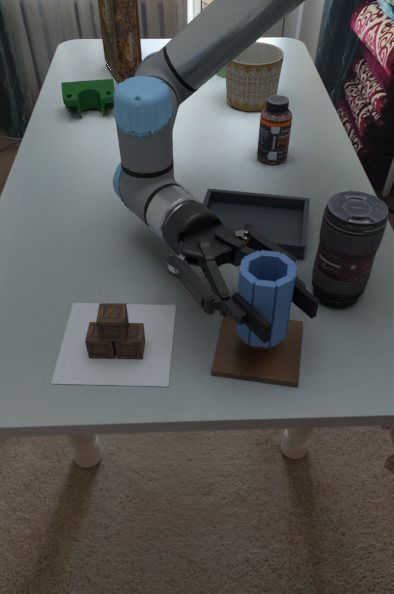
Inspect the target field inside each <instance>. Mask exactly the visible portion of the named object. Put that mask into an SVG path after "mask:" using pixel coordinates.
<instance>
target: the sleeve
mask: <svg viewBox="0 0 394 594" xmlns="http://www.w3.org/2000/svg"><path fill="white" fill-rule="evenodd" d="M297 268H298V266H297V262H296V263H295V262H294V261H292V260H291V259H290V258H289V257H287V256H286V255H285V254H283V253H282V254H280V252H274V251H264V250H261V252H260V251H256V252H254V253H252V254H250V255H247V256H245V257H243V259H242V260H241V265H240V266H239V270H238V283H237V292H238V293H239V294H240V295H241V296H242V297H243V298H244V299H245V300H246V301H247V302H248V303H250V304H251V305H252V306H253V307H254V308H255V309H256V310H257V311H258V312H259V313H260V314H261V315H262V316H263V317H264V318H266V319H267V320H268V321H269V322H270V323H271V324H272V325H271V333H270V341H268V342H266V343H263V342H262V341H261V340H260V339H259V338H258V337H257V336H256V335H255V334H254V333H253V332H252V331H251V330H250V329H249V328H248V327H247V326H246V325H245V324H242V325H239V324H237V323H236V334H237V335H238V336H239V337H240V338H241V339H242V340H243V341H244V342H245V343H246V344H249V343H250V346H257V347H264V348H268V345H269V346H270V347H272V346H274V345H276V344H278V343H279V342H281V341H283V340H284V339H285V338H286V334H287V328H288V322H289V319H290V314H291V309H292V296H293V290H294V283H295V277H296V276H297Z"/></svg>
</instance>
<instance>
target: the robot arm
mask: <svg viewBox="0 0 394 594" xmlns="http://www.w3.org/2000/svg"><path fill="white" fill-rule="evenodd" d="M305 1H306V0H212V1H211V2H209V4H207V5H206V6H205V7H204V8H203V10H201V11H200V12H199V13H198V14H197V15H196V16H195V17H194V18H193V19H192V20H191V21H189V22H188V23H187V24H186V25H185V26H184V27H183V28H182V29H181V30H180V31H178V32H177V33H176V34H175V36H173V37H172V38H171V39H169V41H168V42H167V43H166V44H165V45H164V46H163V47H161V48H160V49H159V50H158V51H153V52H150V53H149V54H147V55H146V56H145V57H144V58H142V62H141V64H140V65H139V66H138V67H137V70H136V72H135V75H134V77H131V78H128V79H125V80H124V82H121V83H119V84H118V83H117V84H116V86H115V90H114V107H113V111H112V112H113V118H114V122H115V126H116V134H117V142H118V149H119V156H120V157H119V158H120V163H118V165H117V166H116V168H115V172H114V175H113V178H112V187H113V190H114V192H115V194H116V195H117V197H118V198H119V199H120V201H121V202H122V203H123V205H124V206H125V208H127V209H128V210H129V211H131V212H132V213H133V214H134V215H135V216H136V217H137V218H138V219H139V220H140V221H141V222H142V223H144V225H146V227H148V228H149V229H150V230H151V231H152V232H153V233H154V234H155V235H156V236H158V238H160V239H161V241H162V242H163V243H165V244H166V246H168V247H169V249H170V250H172V252H173V253H174V254H175V255H174V254H169V255H168V256H167V257H166V260H167V261H166V262H167V274H168V275H169V276H171V277H173V278H174V279H175V280H178V281H179V282H180V283H181V285H182V286H183V287H184V289H185V290H186V291H187V293H188V294H189V295H190V297H192V298H193V300H194V301H195V302H196V304H197V305H198V306H199V308H200V309H201V310H202V312H203V313H204V314H206V315H210V316H211V315H213V314H214V313H215V312H216V311H219V315H220V316H221V317H223V316H228V315H229V316H230V317H231V318H232V319H233V320H234V321H235V322H236V323H237V324H239V325H242V324H245V325H246V326H247V327H248V328H249V329H250V330H251V331H252V332H253V333H254V334H255V335H256V336H257V337H258V338H259V339H260V340H261V341H262V342H263V343H266V342H268V341H270V333H271V325H272V324H271V323H270V322H269V321H268V320H267V319H266V318H264V317H263V316H262V315H261V314H260V313H259V312H258V311H257V310H256V309H255V308H254V307H253V306H252V305H251V304H250V303H248V302H247V301H246V300H245V299H244V298H243V297H242V296H241V295H240V294H239V293H238V291H236V292H234V293H232V295H231V293H230V290H229V288H228V286H227V284H226V281H225V279H224V277H223V274H222V273H221V270H220V267H221V266H223V265H232V266H233V267H235V268H238V267H240V265H241V260H242V259H243V257H245V256H247V255H250V254H252V253H254V252H256V251H260V252H261V250H264V251H274V252H280V254H282V253H283V254H285V255H286V256H287V257H289V258H290V259H291V260H292V261H294V262H295V263H296V264H297V259H296V258H295V257H294V256H293V255H291V254H290V253H288V252H287V251H285V250H284V249H282V248H281V247H279V246H278V245H276V244H275V243H273V242H272V241H270V240H269V239H267V238H266V237H264V236H263V235H262V234H260V233H259V232H258V231H257V230H256V228H255V227H254V226H253V224H246V225H245V229H244V230H240V231H234V230H233V229H230V228H227V227H225V226H224V225H223V224H222V223H221V221H220V219H219V218H218V217H217V215H215V214H214V213H213V212H212V211H211V210H210V209H208V208H207V207H206V206H205V205H203V202H201V201H200V200H199V199H198V198H197V197H195V196H194V195H193V194H192V193H190V191H188V190H187V189H186V188H185V187H183V186H182V185H180V184H179V183H178V182H177V181H176V180H175V168H174V167H175V166H174V165H175V162H174V139H173V138H174V137H173V136H174V134H173V133H174V126H175V122H176V120H177V115H178V112H179V108H180V106H181V105H182V104H183V103H184V102H185V101H186V100H188V99H189V98H190V97H191V96H193V95H194V94H195V93H196V92H197V91H198V90H199V89H201V87H203V86H204V85H205V84H206V83H207V82H208V81H210V80H212V79H213V78H214V77H215V76H217V73H218V72H219V71H221V70H222V69H223V68H224V67H226V66H227V65H228V64H229V63H230V62H232V61H233V60H234V59H235V58H236V57H238V56H239V55H240V54H241V53H242V52H244V51H245V50H246V49H247V48H248V47H250V46H251V45H252V44H253V43H254V42H258V40H259V39H261V38H262V37H264V35H266V34H267V33H268V32H269V31H271V30H272V29H273V28H274V27H275V26H276V25H277V24H279V23H280V22H281V21H282V20H284V19H285V18H286V17H287V16H288V15H290V14H291V13H292V12H293V11H295V9H297V8H298V7H299V6H301V5H302V4H303V3H304V2H305ZM191 266H194V267H197V268H200V269H201V272H202V275H203V276H204V278H205V279H206V280H207V283H208V285H206V283H204V281H203V280H202V279H201V278H200V276H199V275H198V274H197V273H196V272H195V270H194V269H193V268H192V267H191ZM306 285H307V284H306V282H304V281H303V280H302V279H301V278H300V277H298V276H297V275H296V277H295V283H294V290H293V296H292V302H291V304H293V305H295V306H296V308H298V309H299V310H300V311H301V312H303V313H304V314H305V315H306V316H307V317H308V318H309V319H311V320H312V319H314V318H316V317H317V314H318V310H319V309H318V308H319V306H320V303H319V301H320V300H319V299H318V298H317V297H316V296H314V295H313V292H311V291H310V290H308V289H307V288H306V287H307V286H306ZM208 286H209V287H208Z"/></svg>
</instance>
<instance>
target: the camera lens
mask: <svg viewBox="0 0 394 594" xmlns="http://www.w3.org/2000/svg"><path fill="white" fill-rule="evenodd" d="M388 215H389V209H388V205H387V204H386V203H385V202H384V201H383V200H382V199H381V198H379V197H377V196H375V195H373V194H370V193H367V192H364V191H356V190H345V191H340V192H337V193H334V194H333V195H331V196H330V197H329V199H328V200H327V204H326V205H324V209H323V214H322V218H321V223H320V224H321V225H320V228H319V236H318V238H319V239H318V240H319V241H318V245H317V248H316V249H317V250H316V254H315V258H314V261H313V266H312V271H311V276H312V277H311V287H312V294H313V295H314V296H316V297H317V298H318V299H319V300H320V301H319V305H322V306H324V307H326V308H329V309H333V310H345V309H349V308H351V307H353V306H355V305H356V304H357V303H358V302H359V299H360V298H361V297H362V296H363V294H364V293H365V290H366V287H367V286H368V284H369V281H370V277H371V274H372V268H373V266H374V262H375V258H376V256H377V252H378V250H379V248H380V246H381V243H382V241H383V237H384V236H385V235H384V234H385V231H386V229H387V224H388V221H389V217H388Z"/></svg>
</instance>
